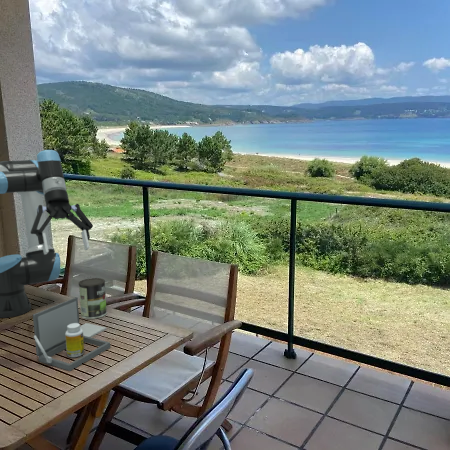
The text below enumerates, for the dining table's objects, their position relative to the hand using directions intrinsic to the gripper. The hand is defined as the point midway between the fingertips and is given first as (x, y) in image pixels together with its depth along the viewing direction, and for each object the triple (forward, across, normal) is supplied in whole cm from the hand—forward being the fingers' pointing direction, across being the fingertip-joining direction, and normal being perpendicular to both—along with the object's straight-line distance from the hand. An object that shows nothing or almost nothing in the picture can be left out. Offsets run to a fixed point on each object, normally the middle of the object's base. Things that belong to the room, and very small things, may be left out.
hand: (67, 251), depth 147 cm
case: (+33, 0, +12) cm, 35 cm away
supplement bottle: (+33, 0, +12) cm, 35 cm away
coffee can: (+17, +19, +37) cm, 45 cm away
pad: (+25, +10, +24) cm, 36 cm away
